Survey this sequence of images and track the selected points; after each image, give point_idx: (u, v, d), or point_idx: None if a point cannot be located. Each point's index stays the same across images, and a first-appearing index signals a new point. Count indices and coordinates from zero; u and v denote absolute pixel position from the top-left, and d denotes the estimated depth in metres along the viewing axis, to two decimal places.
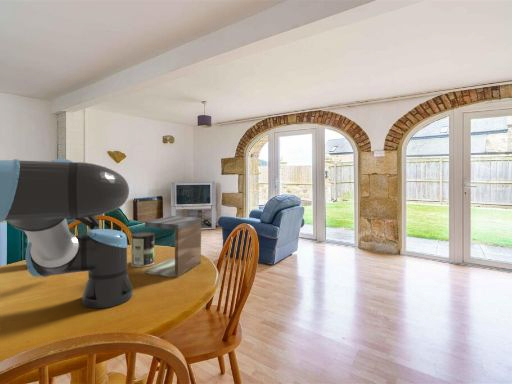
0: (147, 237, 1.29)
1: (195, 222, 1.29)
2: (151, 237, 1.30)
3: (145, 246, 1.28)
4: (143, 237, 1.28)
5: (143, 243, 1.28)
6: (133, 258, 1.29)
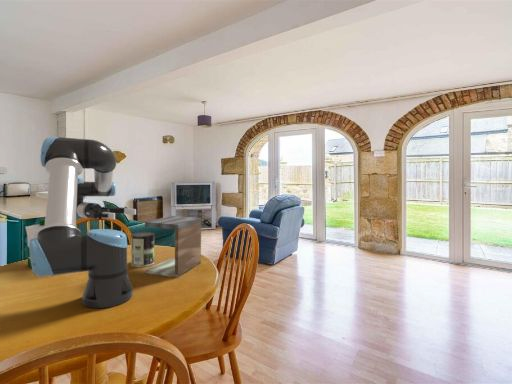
0: (147, 237, 1.29)
1: (195, 222, 1.29)
2: (151, 237, 1.30)
3: (145, 246, 1.28)
4: (143, 237, 1.28)
5: (143, 243, 1.28)
6: (133, 258, 1.29)
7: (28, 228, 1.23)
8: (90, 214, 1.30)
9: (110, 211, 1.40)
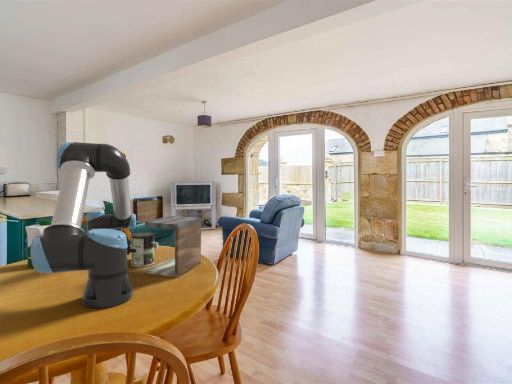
0: (147, 237, 1.29)
1: (195, 222, 1.29)
2: (151, 237, 1.30)
3: (145, 246, 1.28)
4: (143, 237, 1.28)
5: (143, 242, 1.28)
6: (133, 258, 1.29)
7: (28, 228, 1.23)
8: None
9: None
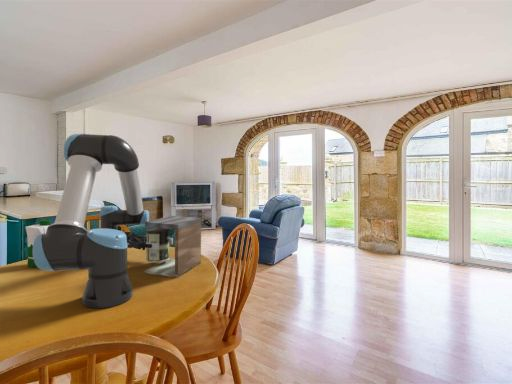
0: (163, 232, 1.27)
1: (195, 222, 1.29)
2: (166, 232, 1.29)
3: (160, 242, 1.27)
4: (159, 232, 1.26)
5: (159, 238, 1.27)
6: (148, 253, 1.27)
7: (28, 228, 1.23)
8: (131, 245, 1.27)
9: None
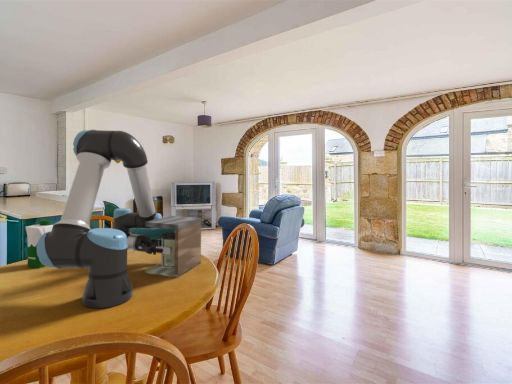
0: None
1: (195, 222, 1.29)
2: None
3: None
4: (174, 238, 1.23)
5: None
6: (164, 259, 1.24)
7: (28, 228, 1.23)
8: (143, 249, 1.23)
9: (160, 243, 1.33)
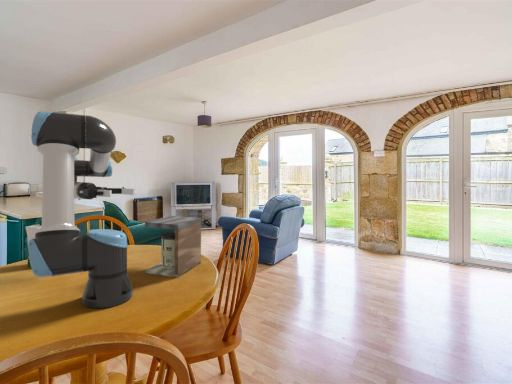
0: None
1: (195, 222, 1.29)
2: None
3: None
4: (174, 238, 1.23)
5: None
6: (164, 259, 1.24)
7: (28, 228, 1.23)
8: (84, 192, 1.17)
9: None
